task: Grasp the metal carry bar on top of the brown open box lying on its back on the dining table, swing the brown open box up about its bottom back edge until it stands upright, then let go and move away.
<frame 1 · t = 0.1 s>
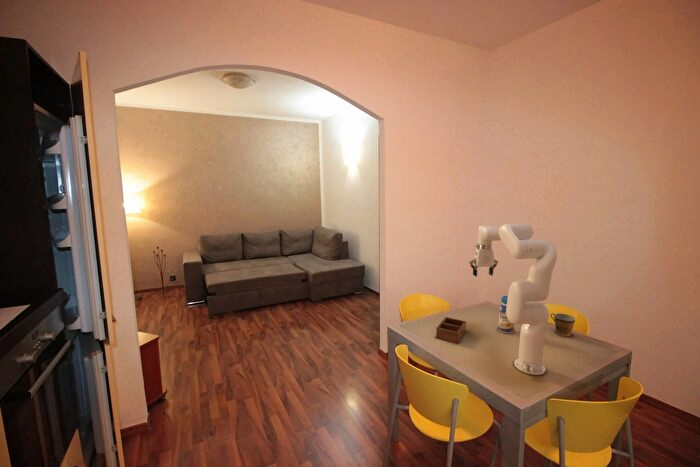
hand: (482, 275, 187), 31 cm above the table, tool pointing down, fingers open, 9 cm apart
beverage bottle: (505, 330, 185), on the table
brown open box: (452, 328, 182), point 3 cm above the table, hinge at 88.0°
ceramic cup: (560, 332, 182), on the table
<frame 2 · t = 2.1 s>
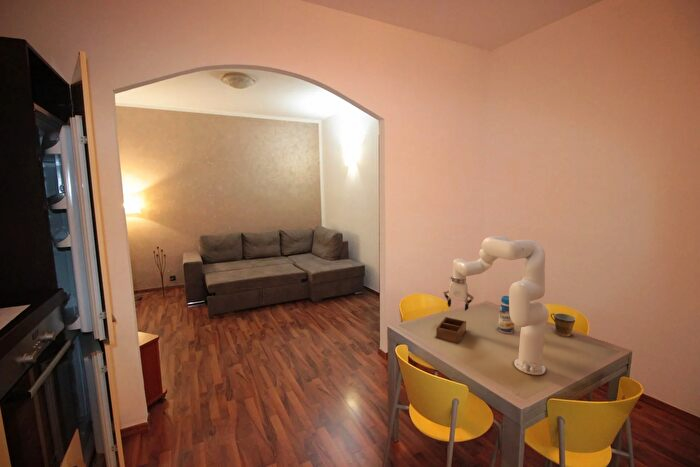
hand: (457, 308, 188), 12 cm above the table, tool pointing down, fingers open, 9 cm apart
nothing on the table moved.
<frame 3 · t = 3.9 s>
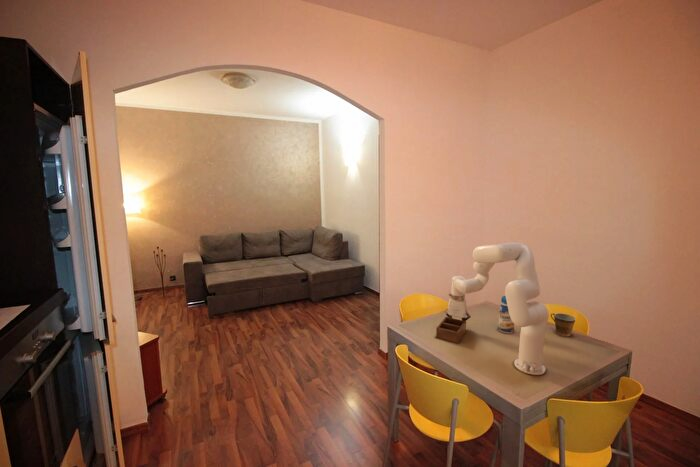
hand: (456, 325, 189), 1 cm above the table, tool pointing down, fingers closed on brown open box, 6 cm apart
brown open box: (452, 328, 182), point 3 cm above the table, hinge at 88.0°, touching gripper
everything else where it was.
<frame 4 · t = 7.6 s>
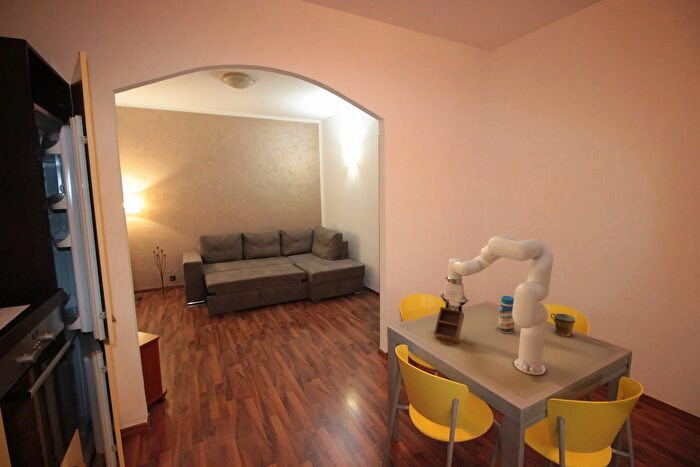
hand: (453, 310, 181), 13 cm above the table, tool pointing down, fingers closed on brown open box, 6 cm apart
brown open box: (449, 321, 176), point 9 cm above the table, hinge at 41.4°, touching gripper
everything else where it was.
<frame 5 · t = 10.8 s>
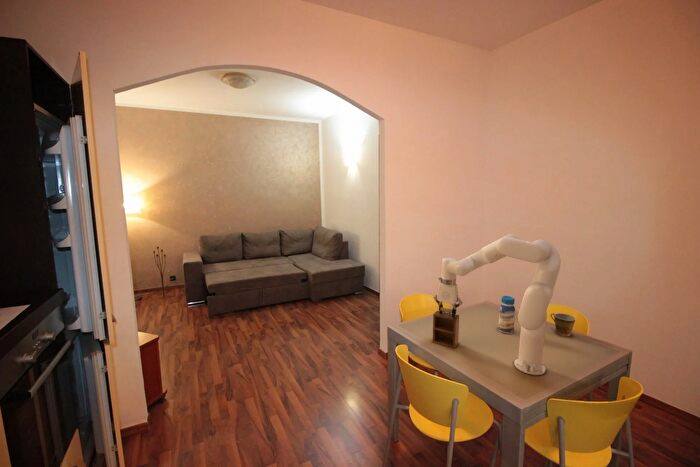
hand: (447, 313, 171), 16 cm above the table, tool pointing down, fingers closed on brown open box, 6 cm apart
brown open box: (445, 325, 170), point 10 cm above the table, hinge at -0.2°, touching gripper
everything else where it was.
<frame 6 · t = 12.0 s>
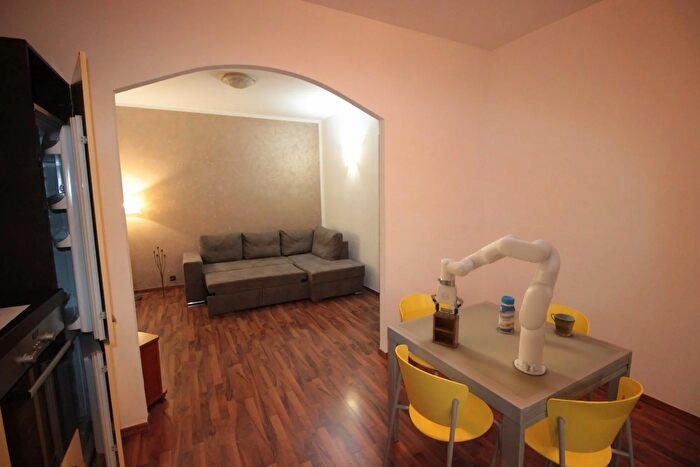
hand: (446, 313, 169), 17 cm above the table, tool pointing down, fingers open, 9 cm apart
brown open box: (445, 325, 170), point 10 cm above the table, hinge at -0.1°
everything else where it was.
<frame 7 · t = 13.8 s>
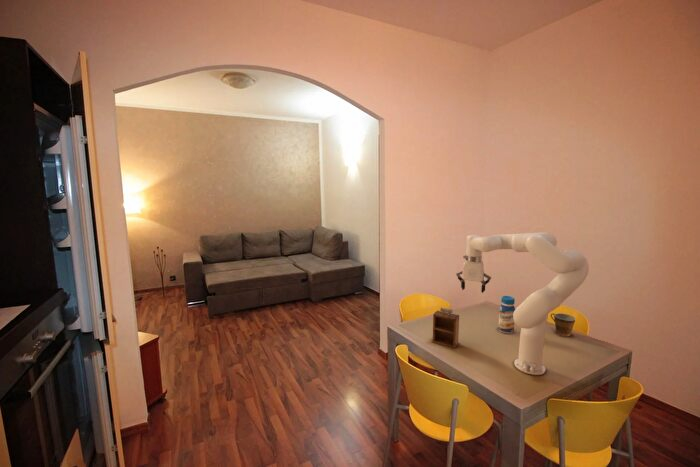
hand: (472, 290, 167), 29 cm above the table, tool pointing down, fingers open, 9 cm apart
nothing on the table moved.
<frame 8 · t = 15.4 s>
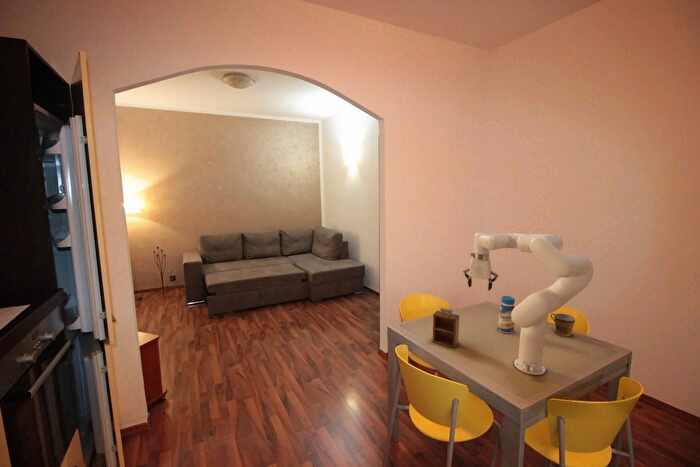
hand: (479, 288, 168), 30 cm above the table, tool pointing down, fingers open, 9 cm apart
nothing on the table moved.
at the end: brown open box at +0° (first picture: +88°); the gripper is holding nothing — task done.
